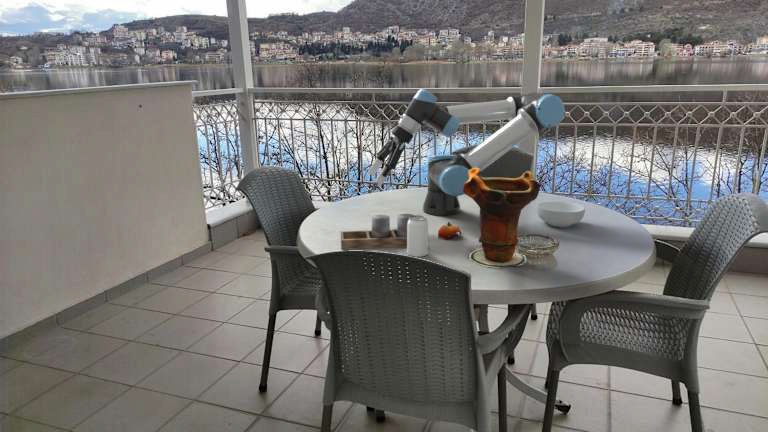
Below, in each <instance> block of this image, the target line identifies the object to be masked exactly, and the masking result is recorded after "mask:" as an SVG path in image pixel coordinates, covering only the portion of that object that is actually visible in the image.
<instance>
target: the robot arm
mask: <svg viewBox="0 0 768 432" xmlns="http://www.w3.org/2000/svg"><path fill="white" fill-rule="evenodd" d="M437 100H438V98H437V96H436V95H434V94H433V93H432V92H430V91H428V90H426V89H424V88H420V89H418V91H417V92H416V93H415V95H414V96H413V97H412V99H411V101H410V102H409V105H408V106H407V108H406V109H405V111H404V112H403V114H402V115H400V116H399V120H398V122H397V123H398V124H397V125H396V124H395V126H394V127H393V129H392V131H391V134H392V135H393V136H392V135H391V136H390V138H389V139H388V140H387V142H386V143H385V144H384V145H383V146H382V147H381V149H379V150H378V152H377V153H376V158H375V159H374V162H373V163H372V165H371V167H370V168H369V169H368V171H367V172H366V173H367V174H369V175H370V176H372V177H375V175H376V173H377V172H378V170H379V169H380V168H381V166H382V164H383V163H385V160H386V158H387V157H388V158H387V162H386V163H385V164H383V165H384V166H383V168H382V169H381V171H380V173H379V174H378V175H377V176H376V179H375V180H374V182H375V183H376V184H378V185H379V186H383V184H384V182H385V181H386V179H387V178H388V176H389V174H391V172H392V170H393V171H394V170H395V169H396V168H397V166H398V163H399V161H400V159H401V156H402V154H403V152H404V150H405V148H406V145H405V144H404V143H406V144H410V143H411V141H412V140H413V138H414V135H416V134H417V133H418V131H419V129H420V128H421V127H422V124H424V125H425V126H426V127H427V128H431V129H433V130H435V131H437V132H439V133H441V135H444V136H445V137H446V138H451V137H452V136H453V135H454V134H455V133H456V132H457V131H458V129H459V127H460V125H467V124H477V123H486V122H493V121H504V120H508V122H507V123H506V124H504V125H502V127H500V128H499V129H497V130H496V131H495V132H494V133H491V135H489V137H487V138H485V139H484V140H483V141H481V142H480V143H479V144H477V145H476V146H475V147H474V148H472V149H471V150H469V151H468V152H467V153H458V154H431V155H429V157H428V159H427V160H428V161H427V193H426V196H425V198H424V201H423V204H422V212H424V213H425V214H428V215H434V216H453V215H457V214H458V213H460V212H461V204H460V200H459V197H461V196H462V195H466V194H465V193H464V192H463V187H464V184H465V183H466V182H467V181H468V180H469V176H468V171H469V170H470V169H473V168H479V169H480V173H481V172H482V171H483V170H485V169H486V168H488V167H489V166H490V165H492V164H493V163H494V162H496V161H497V160H498V159H500V158H501V157H502V156H505V154H506V153H508V152H509V151H510V150H512V149H513V148H515V147H516V146H517V145H518V144H519V143H521V142H523V140H525V139H526V138H528V137H529V136H530V135H534V136H536V135H539V134H540V133H541V132H543V131H544V130H545V129H547V128H548V129H550V128H553V127H557V126H558V125H559V124H560V123H561V122H562V121H563V118H564V117H565V112H566V111H565V110H566V109H565V104H564V102H563V100H562V99H561V98H560V97H559V96H557V95H554V94H552V93H540V92H530V93H524V94H520V95H513V96H508V97H507V98H506V99H501V100H494V101H483V102H475V103H466V104H456V105H449V106H439V105H438V104H437Z"/></svg>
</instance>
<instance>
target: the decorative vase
mask: <svg viewBox="0 0 768 432" xmlns="http://www.w3.org/2000/svg"><path fill="white" fill-rule="evenodd" d="M468 176H469V180H468V181H467V182H466V183H465V184H464V187H463V192H464V193H465V194H464V195H466V196H468V197H469V198H471V199H472V200H473V201H474V202H475V203H476V205H478V208H479V232H480V236H479V237H478V241H477V243H481V247H482V248H477V247H478V245H476V246H475V250H473V251H471V253H469V256H468V258H469V259H468V261H471V262H474V264H477V265H479V266H483V267H487V268H492V269H493V268H497V269H500V268H501V267H518V266H524V264H526V263H527V261H528V260H527V259H528V258H527V257H526V256H525V255H526V254H524V255H522V254H523V253H522V254H519V253H517V252H518V251H516V247H517V245H518V243H519V240H518V226H519V220H520V216H521V214H522V213H521V212H522V210H523V209H524V208H525V207H526V206H527V205H529V204H530V203H532V202H534V201H535V200H536V199H537V197H538V195H539V193H540V190H541V188H542V185H541V183H540V182H538V181H537V180H535V177H534V174H533V173H532V172H531V171H529V170H527V171H525V172H523V174H522V175H521V176H519V177H516V178H510V177H482V175H481V172H480V169H479V168H473V169H470V170H469V171H468Z"/></svg>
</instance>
